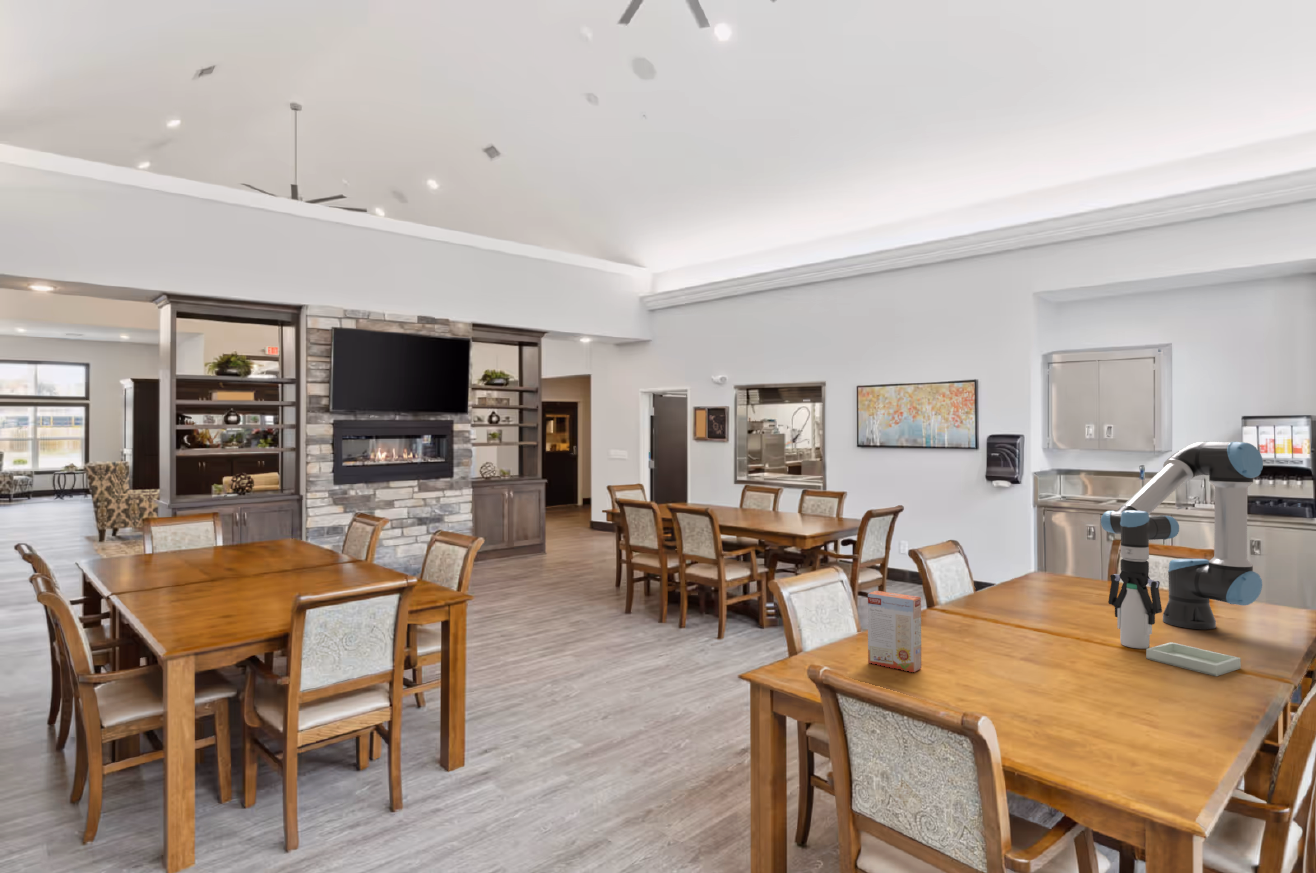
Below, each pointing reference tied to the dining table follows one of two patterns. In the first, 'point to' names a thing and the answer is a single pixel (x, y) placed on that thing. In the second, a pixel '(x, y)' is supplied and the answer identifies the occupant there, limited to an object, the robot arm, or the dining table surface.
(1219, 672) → the tray
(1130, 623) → the milk bottle
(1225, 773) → the dining table surface
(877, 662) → the cracker box
